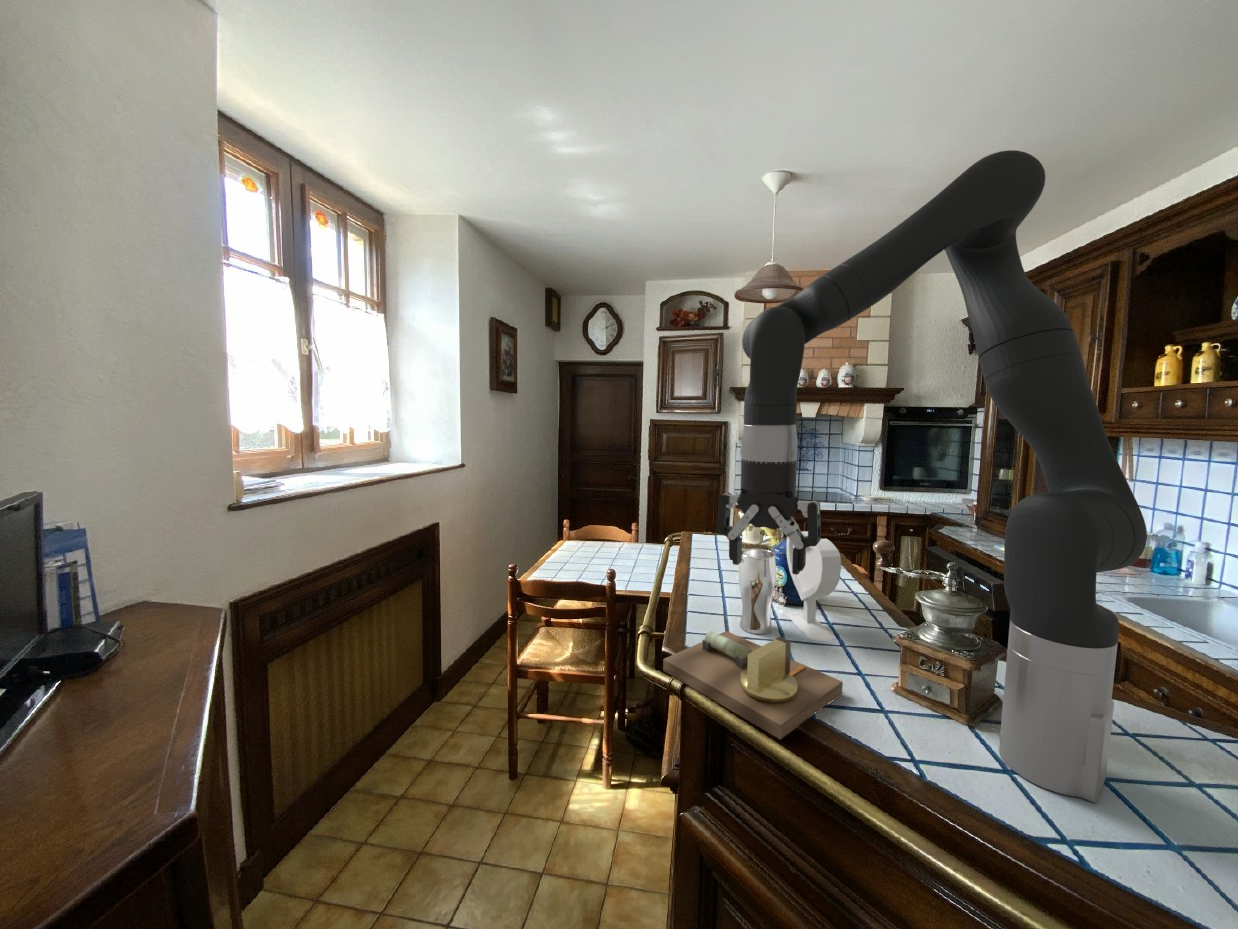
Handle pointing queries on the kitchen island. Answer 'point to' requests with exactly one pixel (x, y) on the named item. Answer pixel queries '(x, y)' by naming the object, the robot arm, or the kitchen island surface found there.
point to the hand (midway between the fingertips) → (765, 568)
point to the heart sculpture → (814, 584)
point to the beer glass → (757, 589)
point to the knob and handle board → (719, 678)
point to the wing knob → (770, 673)
